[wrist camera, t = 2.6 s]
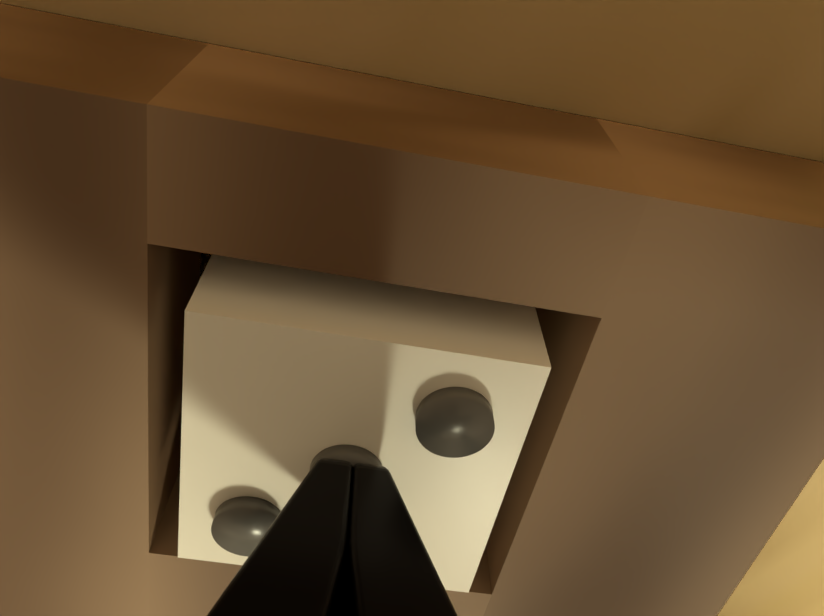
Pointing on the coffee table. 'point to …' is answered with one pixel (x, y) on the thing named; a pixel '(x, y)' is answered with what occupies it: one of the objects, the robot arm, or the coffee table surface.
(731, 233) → the button panel
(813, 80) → the coffee table surface
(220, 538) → the button three
